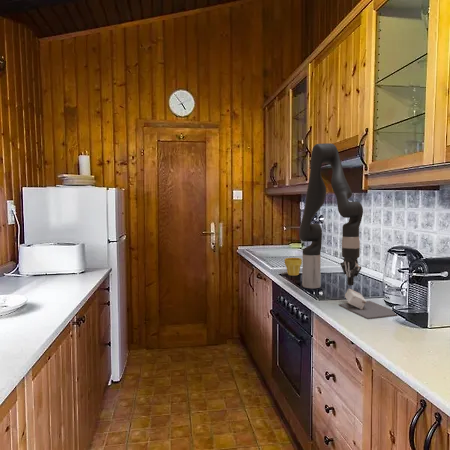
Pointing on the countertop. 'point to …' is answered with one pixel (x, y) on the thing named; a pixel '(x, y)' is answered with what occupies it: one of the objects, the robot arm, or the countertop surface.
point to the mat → (370, 310)
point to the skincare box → (355, 298)
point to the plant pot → (293, 265)
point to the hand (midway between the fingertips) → (350, 285)
